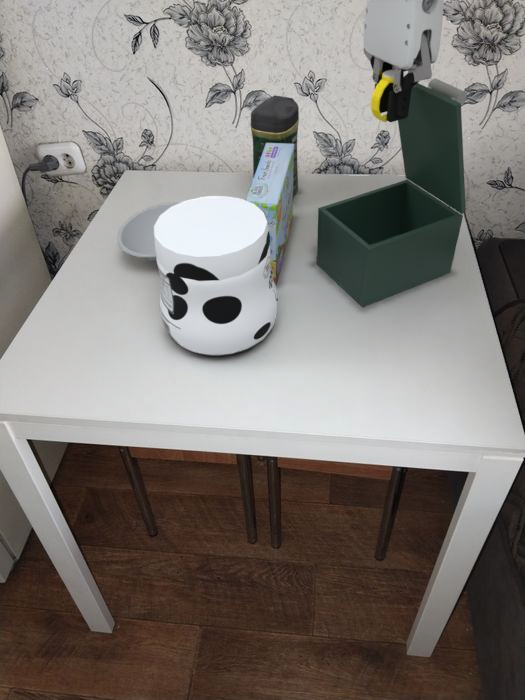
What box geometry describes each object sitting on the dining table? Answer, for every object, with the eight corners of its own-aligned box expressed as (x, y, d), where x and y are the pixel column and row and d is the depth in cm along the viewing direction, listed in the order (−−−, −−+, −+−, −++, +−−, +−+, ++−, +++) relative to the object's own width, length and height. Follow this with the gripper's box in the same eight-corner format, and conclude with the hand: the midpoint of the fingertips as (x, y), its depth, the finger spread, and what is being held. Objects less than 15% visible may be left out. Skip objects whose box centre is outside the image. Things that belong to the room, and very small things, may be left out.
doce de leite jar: (296, 307, 93) (296, 205, 80) (245, 381, 82) (237, 276, 69) (201, 281, 99) (188, 182, 86) (142, 346, 88) (117, 243, 75)
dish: (177, 288, 97) (173, 263, 94) (104, 270, 102) (98, 246, 98) (223, 233, 109) (221, 209, 105) (156, 219, 113) (152, 196, 110)
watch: (398, 109, 83) (403, 65, 79) (412, 116, 81) (418, 70, 77) (365, 120, 80) (369, 75, 76) (379, 127, 79) (384, 81, 75)
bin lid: (456, 106, 76) (486, 86, 77) (391, 75, 85) (419, 57, 85) (461, 214, 90) (487, 197, 90) (405, 178, 99) (429, 162, 99)
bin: (362, 307, 92) (368, 249, 85) (316, 263, 101) (318, 207, 93) (450, 272, 98) (463, 215, 90) (399, 234, 107) (407, 179, 99)
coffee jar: (285, 211, 114) (284, 115, 101) (248, 203, 116) (242, 109, 103) (303, 187, 120) (305, 94, 107) (268, 181, 123) (265, 89, 110)
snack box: (280, 286, 97) (278, 204, 86) (246, 283, 98) (241, 202, 87) (295, 217, 112) (295, 141, 101) (266, 216, 113) (263, 140, 102)
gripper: (482, -37, 64) (451, 130, 77) (391, -59, 74) (377, 91, 87) (427, -27, 61) (404, 143, 74) (341, -51, 72) (334, 102, 85)
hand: (390, 114), depth 80 cm, fingers closed on watch, 2 cm apart
